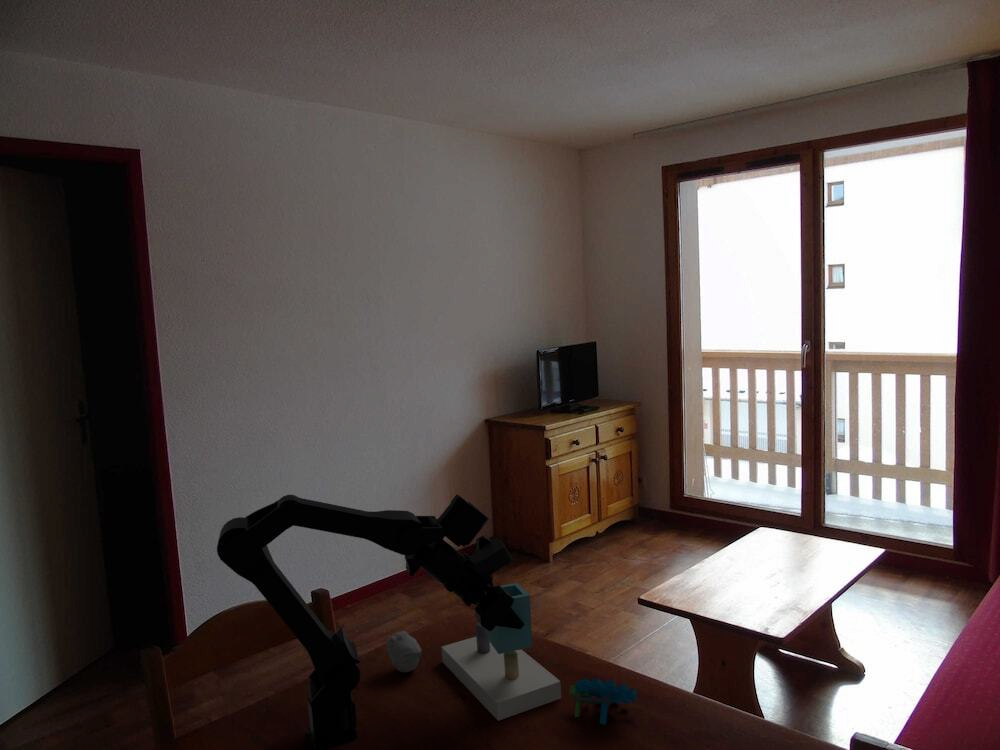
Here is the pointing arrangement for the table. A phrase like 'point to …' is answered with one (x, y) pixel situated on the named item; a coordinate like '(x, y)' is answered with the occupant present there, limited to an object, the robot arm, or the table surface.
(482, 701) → the board
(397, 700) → the table surface
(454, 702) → the table surface
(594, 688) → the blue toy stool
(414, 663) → the grey rounded lump
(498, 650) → the collar
